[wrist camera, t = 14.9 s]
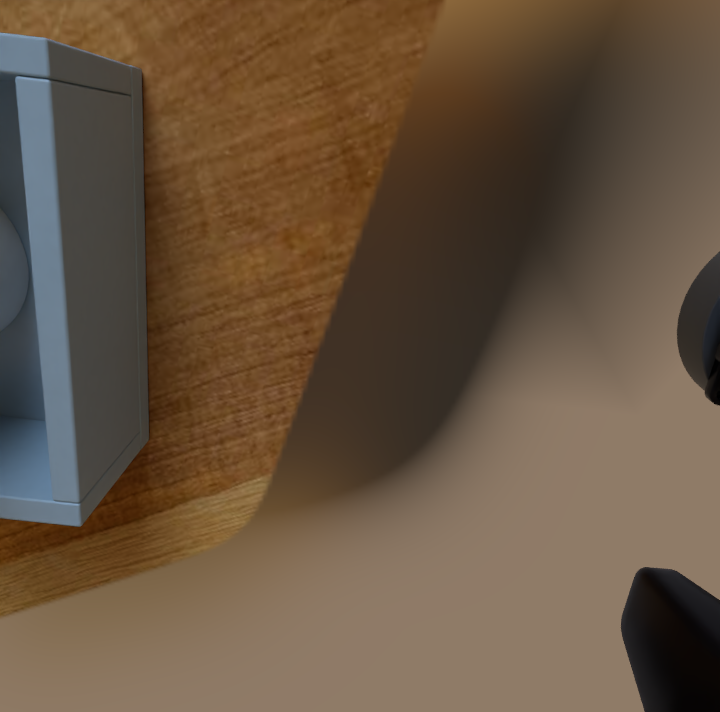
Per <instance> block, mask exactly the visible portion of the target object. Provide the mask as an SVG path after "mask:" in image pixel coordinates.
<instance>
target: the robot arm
mask: <svg viewBox="0 0 720 712" xmlns="http://www.w3.org/2000/svg"><path fill="white" fill-rule="evenodd" d="M715 358H716V359H715V362H714V365H713V367H712V370H711V373H710V376H709V379H708V382H707V385H706V388H705V396H706V398H708V399H709V400H710V401H711V402H712V403H714V404H715V405H719V406H720V395H719V396H716V393H717V392H718V391H719V390H720V341H719V344H718V347H717V350H716V353H715ZM621 631H622V637H623V641H624V644H625V647H626V650H627V654H628V657H629V661H630V664H631V667H632V670H633V674H634V677H635V681H636V684H637V687H638V691H639V694H640V697H641V701H642V703H643V707H644V711H645V712H720V600H719V599H717V598H715V597H714V596H713V595H711V594H710V593H708V592H707V591H705V590H704V589H702V588H701V587H699V586H698V585H696V584H695V583H694V582H692V581H691V580H689V579H688V578H686V577H685V576H683V575H682V574H680V573H679V572H677V571H675V570H671V569H662V568H649V567H644V568H641V569H640V570H639V571H638V572H637V573H636V575H635V577H634V580H633V583H632V586H631V589H630V592H629V596H628V599H627V602H626V605H625V608H624V611H623V615H622V619H621Z"/></svg>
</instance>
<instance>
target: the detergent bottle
mask: <svg viewBox="0 0 720 712" xmlns="http://www.w3.org/2000/svg"><path fill="white" fill-rule="evenodd" d="M28 281H29V272H28V263H27V257H26V254H25V250H24V247H23V244H22V242H21V239H20V237H19V235H18V233H17V231H16V229H15V227H14V226H13V224H12V223H11V221H10V220H9V218H8V217H7V215H6V214H5V213H4V212H3V211H2V209H1V208H0V331H2V330H3V329H4V328H6V327H7V326H8V325H9V324H10V323H11V322H12V321H13V320H14V319H15V317H16V316H17V314H18V313H19V311H20V310H21V308H22V305H23V303H24V301H25V297H26V294H27V290H28Z"/></svg>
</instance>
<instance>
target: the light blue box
mask: <svg viewBox="0 0 720 712" xmlns="http://www.w3.org/2000/svg"><path fill="white" fill-rule="evenodd" d="M0 208H1V209H2V211H3V212H4V213H5V214H6V215H7V217H8V218H9V220H10V221H11V223H12V224H13V226H14V227H15V229H16V231H17V233H18V235H19V237H20V239H21V242H22V244H23V247H24V250H25V254H26V257H27V263H28V272H29V281H28V290H27V294H26V297H25V301H24V303H23V305H22V308H21V310H20V311H19V313H18V314H17V316H16V317H15V319H14V320H13V321H12V322H11V323H10V324H9V325H8V326H7V327H6V328H4V329H3V330H2V331H0V518H3V519H12V520H21V521H30V522H39V523H49V524H58V525H67V526H76V527H80V526H82V525H83V523H84V522H85V521H86V520H87V518H88V517H89V516H90V514H91V513H92V512H93V511H94V509H95V508H96V507H97V505H98V504H99V503H100V502H101V500H102V499H103V498H104V496H105V495H106V494H107V493H108V491H109V490H110V489H111V487H112V486H113V485H114V484H115V482H116V481H117V480H118V478H119V477H120V476H121V475H122V473H123V472H124V471H125V469H126V468H127V467H128V466H129V464H130V463H131V462H132V460H133V459H134V458H135V457H136V455H137V454H138V453H139V451H140V450H141V449H142V448H143V447H144V446H145V444H146V443H147V442H148V440H149V411H148V361H147V310H146V260H145V209H144V159H143V109H142V70H141V69H140V68H137V67H134V66H131V65H127V64H124V63H121V62H118V61H115V60H112V59H109V58H106V57H103V56H99V55H96V54H93V53H90V52H87V51H84V50H81V49H78V48H75V47H72V46H69V45H66V44H62V43H59V42H56V41H53V40H50V39H47V38H42V37H34V36H25V35H17V34H9V33H0Z"/></svg>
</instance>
